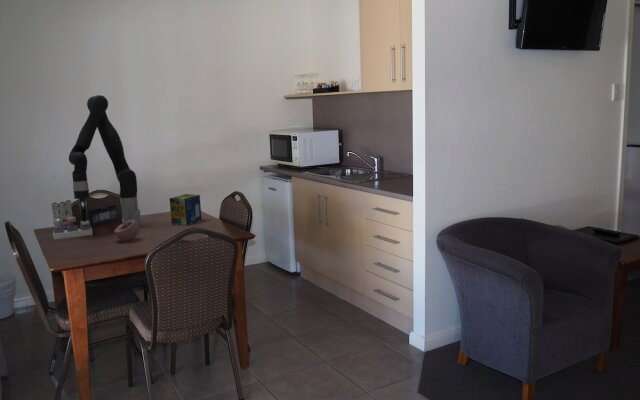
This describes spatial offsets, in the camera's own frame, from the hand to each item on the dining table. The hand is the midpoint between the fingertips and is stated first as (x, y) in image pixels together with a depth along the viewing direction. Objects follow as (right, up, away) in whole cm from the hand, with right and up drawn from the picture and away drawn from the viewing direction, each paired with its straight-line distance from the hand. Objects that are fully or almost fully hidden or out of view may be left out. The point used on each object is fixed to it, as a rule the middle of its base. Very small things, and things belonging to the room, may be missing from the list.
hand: (84, 221), depth 301 cm
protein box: (+50, -2, +22) cm, 55 cm away
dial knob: (-6, -2, -2) cm, 7 cm away
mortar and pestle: (+30, -9, -18) cm, 36 cm away
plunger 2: (0, -4, +1) cm, 4 cm away
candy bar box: (-19, -6, +18) cm, 27 cm away
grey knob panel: (-5, -8, -1) cm, 10 cm away
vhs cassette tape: (-1, -3, +31) cm, 31 cm away
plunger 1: (-12, -3, -5) cm, 13 cm away
